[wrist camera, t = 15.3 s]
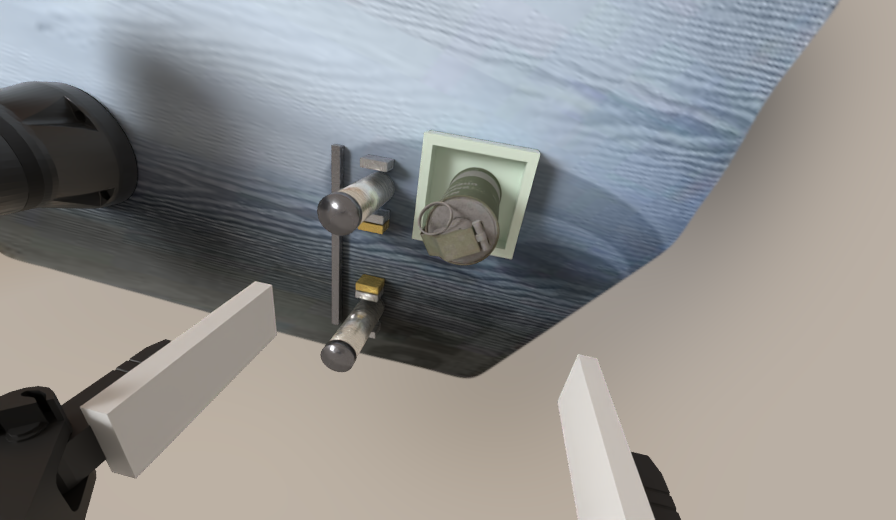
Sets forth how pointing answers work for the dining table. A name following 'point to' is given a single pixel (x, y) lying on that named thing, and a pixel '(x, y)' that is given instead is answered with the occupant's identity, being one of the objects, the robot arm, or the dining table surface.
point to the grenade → (464, 219)
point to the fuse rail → (342, 218)
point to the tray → (459, 152)
